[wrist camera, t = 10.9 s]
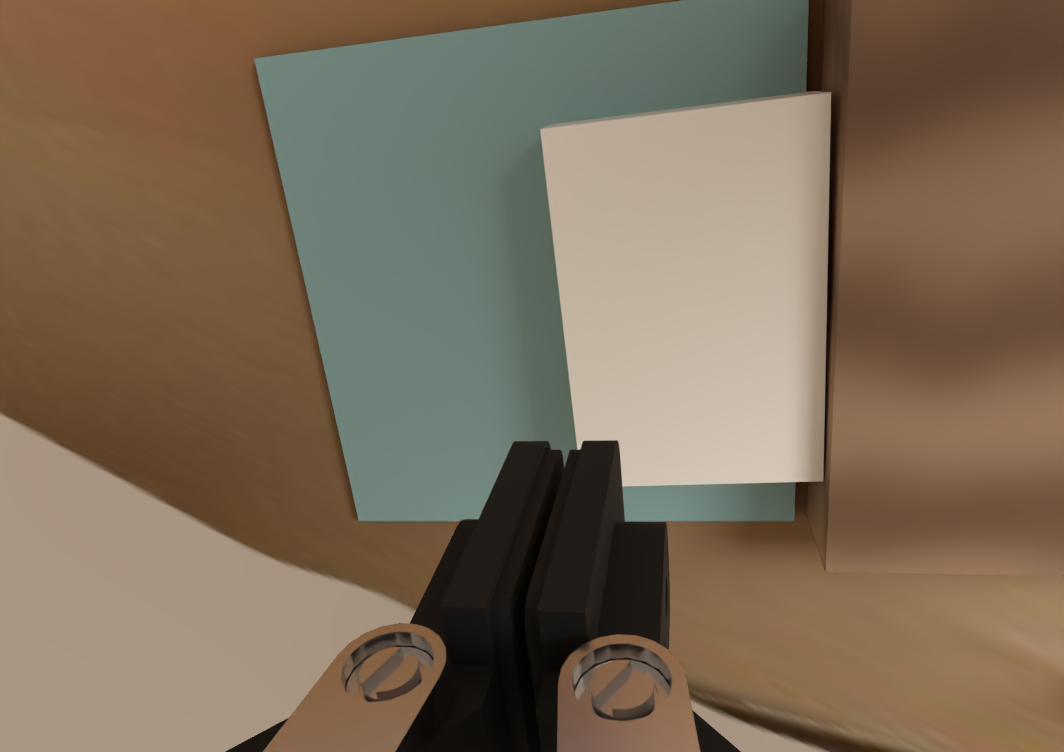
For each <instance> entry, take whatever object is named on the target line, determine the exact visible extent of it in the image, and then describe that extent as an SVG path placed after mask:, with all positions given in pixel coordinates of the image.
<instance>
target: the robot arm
mask: <svg viewBox="0 0 1064 752" xmlns="http://www.w3.org/2000/svg"><path fill="white" fill-rule="evenodd" d="M669 626H670V582H669V556H668V536H667V524H666V522H625V515H624V502H623V488H622V475H621V461H620V449H619V443H618V440H602V441H583V443H582V446H581V449H580V450H570V451H569V454H568V458H567V461H566V465H565V468H564V461H563V454H562V451H561V450H551V447H550V443H549V442H548V441H514V442H513V444H512V446H511V448H510V450H509V452H508V455H507V457H506V459H505V461H504V464H503V466H502V468H501V470H500V472H499V475H498V477H497V479H496V481H495V484H494V486H493V488H492V490H491V493H490V495H489V497H488V499H487V501H486V504H485V506H484V508H483V510H482V513H481V515H480V517H479V519H464V520H461V522H460V523H459V524H458V526H457V528H456V530H455V532H454V534H453V536H452V538H451V540H450V542H449V544H448V546H447V548H446V550H445V552H444V554H443V557H442V559H441V561H440V563H439V565H438V567H437V569H436V571H435V573H434V575H433V577H432V579H431V581H430V583H429V585H428V587H427V589H426V591H425V593H424V596H423V598H422V600H421V602H420V604H419V606H418V608H417V610H416V612H415V614H414V616H413V618H412V620H411V622H410V624H403V623H402V624H401V623H399V624H393V625H388V626H382V627H379V628H377V629H374V630H372V631H369V632H367V633H365V634H363V635H361V636H360V637H358V638H357V639H356V640H354V641H352V642H351V643H349V644H348V645H347V646H346V647H345V648H344V649H343V650H342V651H341V652H340V653H339V654H338V656H337V657H336V658H335V660H334V661H333V662H332V663H331V665H330V666H329V667H328V669H327V670H326V671H325V672H324V674H323V675H322V676H321V678H320V679H319V680H318V681H317V683H316V684H315V685H314V686H313V688H312V689H311V690H310V692H309V693H308V694H307V695H306V697H305V698H304V699H303V701H302V702H301V703H300V704H299V706H298V707H297V709H296V710H295V711H294V712H293V714H292V715H291V716H290V717H289V718H288V719H286V720H284V721H282V722H280V723H278V724H276V725H275V726H273V727H271V728H269V729H267V730H265V731H263V732H261V733H260V734H258V735H256V736H254V737H252V738H250V739H248V740H246V741H244V742H243V743H241V744H239V745H237V746H235V747H233V748H232V749H229V750H228V751H226V752H740V751H739V750H738V749H737V748H736V747H735V746H733V745H732V744H731V743H730V742H729V741H728V740H726V739H725V738H724V737H723V736H722V735H721V734H719V733H718V732H717V731H716V730H715V729H713V728H712V727H711V726H710V725H709V724H707V722H705V721H704V720H703V719H702V718H701V717H700V716H698V715H697V714H696V713H695V712H694V711H693V710H692V706H691V701H690V696H689V691H688V686H687V681H686V676H685V674H684V671H683V669H682V666H681V664H680V662H679V661H678V659H677V658H676V657H675V656H674V655H673V654H672V653H671V652H670V651H669Z"/></svg>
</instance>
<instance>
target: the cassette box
mask: <svg viewBox="0 0 1064 752" xmlns="http://www.w3.org/2000/svg"><path fill="white" fill-rule="evenodd" d="M830 125H831V92H821V91H810V92H802V93H794V94H786V95H778V96H770V97H762V98H755V99H747V100H739V101H731V102H723V103H715V104H707V105H700V106H692V107H684V108H676V109H668V110H660V111H652V112H645V113H637V114H629V115H621V116H613V117H605V118H597V119H590V120H582V121H574V122H566V123H558V124H551V125H549V126H546V127H544V128H542V129H540V133H541V141H542V150H543V158H544V167H545V176H546V184H547V193H548V201H549V210H550V218H551V227H552V236H553V244H554V253H555V261H556V270H557V279H558V287H559V296H560V304H561V313H562V322H563V330H564V339H565V347H566V356H567V365H568V373H569V382H570V390H571V399H572V408H573V416H574V425H575V433H576V442H577V450H580V449H581V446H582V443H583V441H602V440H618V443H619V449H620V461H621V475H622V486H661V485H700V484H739V483H778V482H817V481H823V474H824V424H825V374H826V324H827V275H828V225H829V175H830Z"/></svg>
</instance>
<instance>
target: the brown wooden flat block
mask: <svg viewBox="0 0 1064 752" xmlns="http://www.w3.org/2000/svg"><path fill="white" fill-rule="evenodd" d="M821 92H831V125H830V175H829V225H828V275H827V324H826V374H825V424H824V474H823V481H817V482H808V492H807V518H808V521H809V524H810V527H811V530H812V533H813V536H814V539H815V542H816V545H817V548H818V551H819V554H820V557H821V560H822V563H823V566H824V569H825V572H826V573H889V574H967V575H1045V576H1064V0H824V22H823V51H822V81H821Z"/></svg>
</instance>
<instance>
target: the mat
mask: <svg viewBox="0 0 1064 752" xmlns="http://www.w3.org/2000/svg"><path fill="white" fill-rule="evenodd" d="M808 8H809V0H682V1H674V2H667V3H660V4H652V5H645V6H637V7H630V8H623V9H615V10H608V11H601V12H593V13H586V14H578V15H571V16H564V17H556V18H549V19H541V20H534V21H527V22H519V23H512V24H505V25H497V26H490V27H482V28H475V29H468V30H460V31H453V32H446V33H438V34H431V35H423V36H416V37H409V38H401V39H394V40H387V41H379V42H372V43H364V44H357V45H350V46H342V47H335V48H327V49H320V50H313V51H305V52H298V53H291V54H283V55H276V56H268V57H261V58H254V61H255V65H256V69H257V74H258V78H259V83H260V87H261V92H262V96H263V100H264V105H265V109H266V114H267V118H268V122H269V127H270V131H271V136H272V140H273V145H274V149H275V153H276V158H277V162H278V167H279V171H280V175H281V180H282V184H283V189H284V193H285V197H286V202H287V206H288V211H289V215H290V220H291V224H292V228H293V233H294V237H295V242H296V246H297V250H298V255H299V259H300V264H301V268H302V273H303V277H304V281H305V286H306V290H307V295H308V299H309V303H310V308H311V312H312V317H313V321H314V326H315V330H316V334H317V339H318V343H319V348H320V352H321V356H322V361H323V365H324V370H325V374H326V378H327V383H328V387H329V392H330V396H331V401H332V405H333V409H334V414H335V418H336V423H337V427H338V431H339V436H340V440H341V445H342V449H343V454H344V458H345V462H346V467H347V471H348V476H349V480H350V484H351V489H352V493H353V498H354V502H355V507H356V511H357V515H358V520H359V521H461V520H464V519H479V517H480V515H481V513H482V510H483V508H484V506H485V504H486V501H487V499H488V497H489V495H490V493H491V490H492V488H493V486H494V484H495V481H496V479H497V477H498V475H499V472H500V470H501V468H502V466H503V464H504V461H505V459H506V457H507V455H508V452H509V450H510V448H511V446H512V444H513V442H514V441H548V442H549V443H550V447H551V450H561V451H562V454H563V461H564V468H565V465H566V461H567V458H568V454H569V451H570V450H577V442H576V433H575V425H574V416H573V408H572V399H571V390H570V382H569V373H568V365H567V356H566V347H565V339H564V330H563V322H562V313H561V304H560V296H559V287H558V279H557V270H556V261H555V253H554V244H553V236H552V227H551V218H550V210H549V201H548V193H547V184H546V176H545V167H544V158H543V150H542V141H541V133H540V129H542V128H544V127H546V126H549V125H551V124H558V123H566V122H574V121H582V120H590V119H597V118H605V117H613V116H621V115H629V114H637V113H645V112H652V111H660V110H668V109H676V108H684V107H692V106H700V105H707V104H715V103H723V102H731V101H739V100H747V99H755V98H762V97H770V96H778V95H786V94H794V93H802V92H806V82H807V45H808ZM622 488H623V502H624V515H625V521H795V488H796V482H778V483H739V484H700V485H661V486H622Z"/></svg>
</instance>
